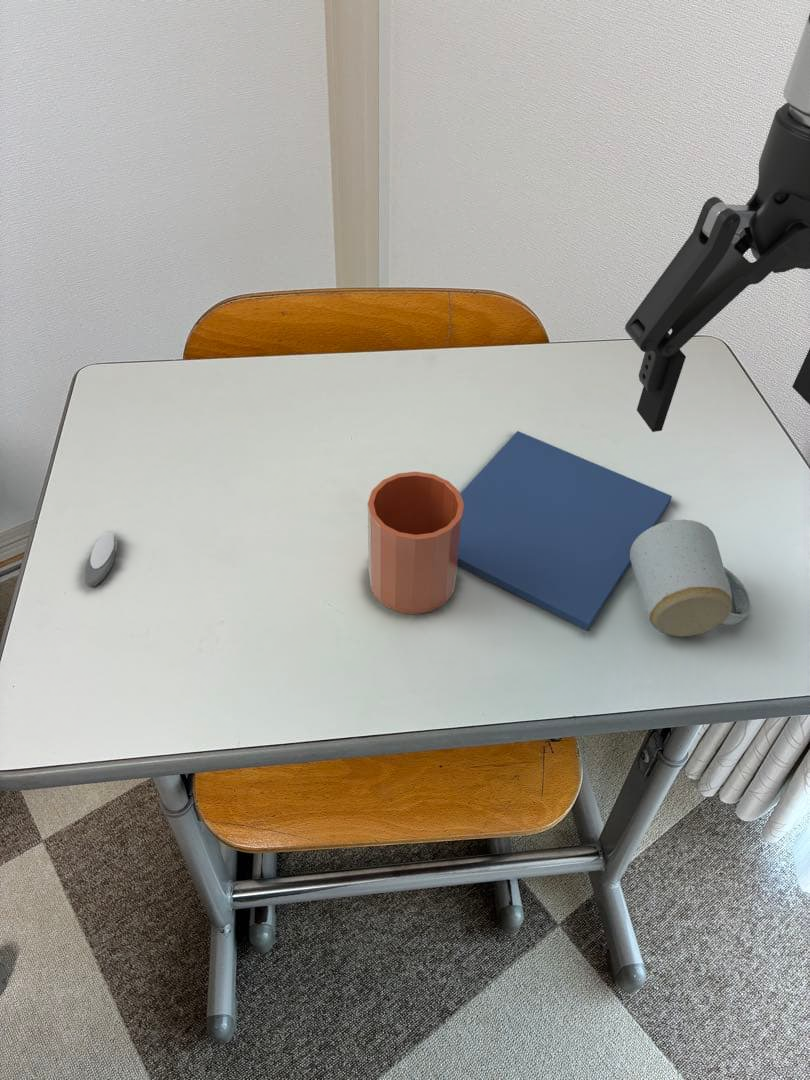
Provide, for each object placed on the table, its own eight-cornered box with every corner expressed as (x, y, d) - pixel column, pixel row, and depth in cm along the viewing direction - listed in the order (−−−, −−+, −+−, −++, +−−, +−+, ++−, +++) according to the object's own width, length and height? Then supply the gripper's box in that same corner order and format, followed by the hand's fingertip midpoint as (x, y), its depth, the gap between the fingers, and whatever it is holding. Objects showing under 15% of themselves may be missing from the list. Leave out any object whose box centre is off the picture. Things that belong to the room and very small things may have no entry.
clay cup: (471, 572, 75) (480, 495, 68) (425, 628, 71) (430, 552, 63) (401, 536, 78) (403, 459, 71) (352, 588, 74) (349, 511, 66)
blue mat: (669, 502, 82) (672, 495, 82) (587, 631, 71) (589, 624, 70) (516, 437, 89) (517, 430, 88) (418, 545, 77) (418, 538, 77)
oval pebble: (104, 590, 73) (101, 583, 72) (78, 587, 73) (75, 580, 72) (126, 538, 77) (123, 531, 76) (101, 536, 77) (98, 529, 76)
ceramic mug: (640, 643, 70) (664, 587, 64) (620, 572, 75) (640, 515, 70) (758, 642, 70) (792, 587, 65) (729, 572, 76) (758, 516, 70)
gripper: (978, 79, 51) (839, 360, 66) (620, 104, 46) (560, 400, 62) (1072, 121, 46) (898, 415, 61) (682, 155, 41) (600, 463, 57)
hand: (728, 408), depth 62 cm, fingers open, 13 cm apart
